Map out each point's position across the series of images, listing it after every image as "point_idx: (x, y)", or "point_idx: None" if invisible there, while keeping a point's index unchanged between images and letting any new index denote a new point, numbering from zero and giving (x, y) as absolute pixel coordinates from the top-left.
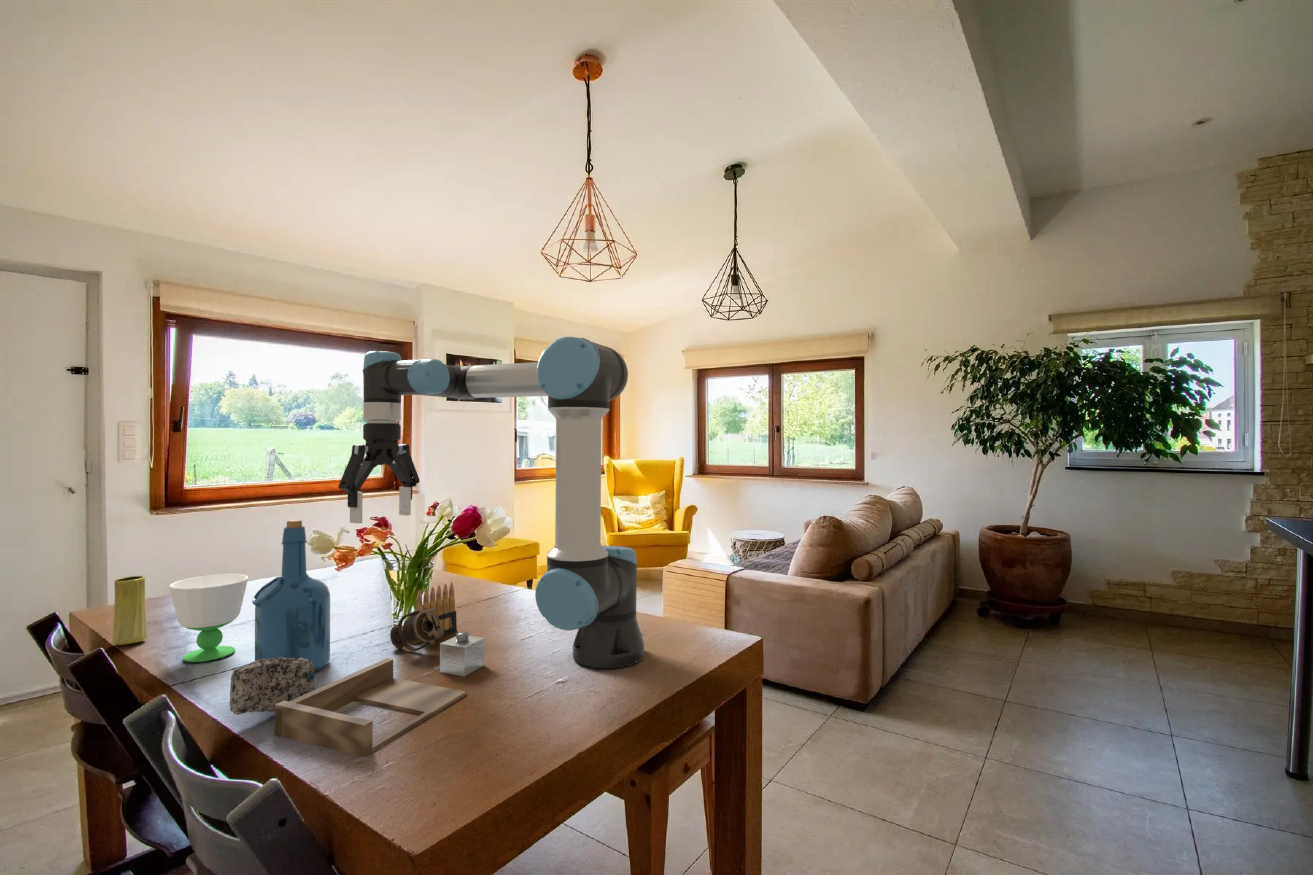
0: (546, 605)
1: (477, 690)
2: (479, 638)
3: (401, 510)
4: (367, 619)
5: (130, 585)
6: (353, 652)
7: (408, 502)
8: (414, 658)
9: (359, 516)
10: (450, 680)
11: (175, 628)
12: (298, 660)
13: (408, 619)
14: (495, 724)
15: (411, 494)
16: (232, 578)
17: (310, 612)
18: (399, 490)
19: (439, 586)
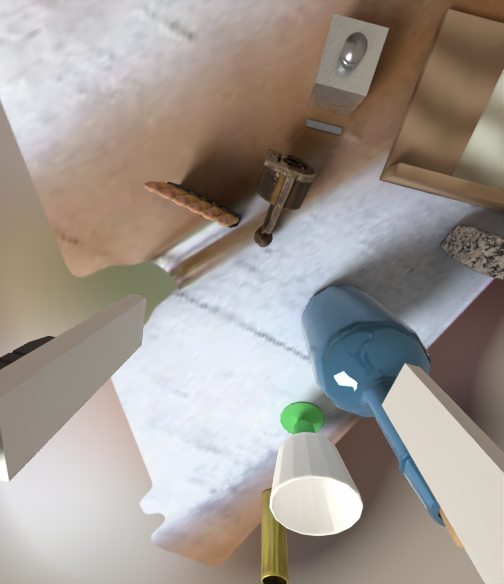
0: None
1: (417, 8)
2: (336, 23)
3: (130, 345)
4: (165, 336)
5: (282, 568)
6: (282, 283)
7: (102, 326)
8: None
9: (439, 388)
10: (376, 82)
11: (237, 487)
12: (499, 250)
13: (293, 201)
14: None
15: (12, 357)
16: (273, 498)
17: (395, 319)
18: (38, 449)
19: (177, 198)
